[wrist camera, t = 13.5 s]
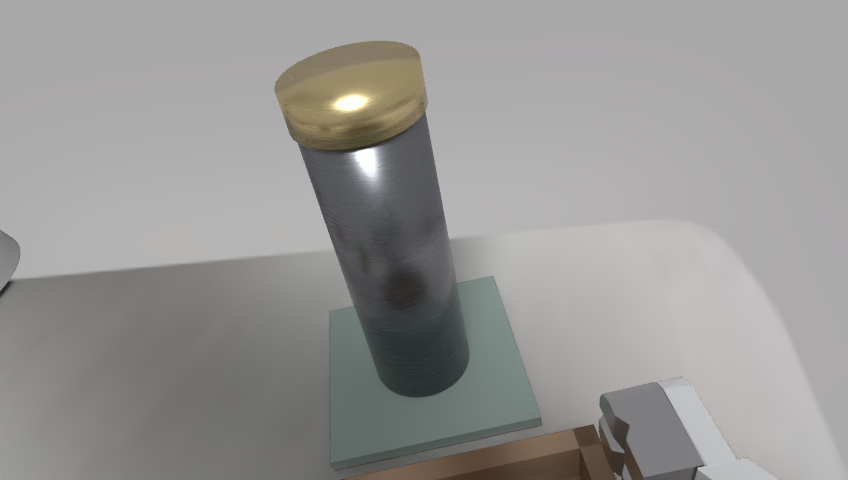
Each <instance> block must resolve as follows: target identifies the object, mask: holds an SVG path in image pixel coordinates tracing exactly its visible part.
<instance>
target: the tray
mask: <svg viewBox="0 0 848 480" xmlns="http://www.w3.org/2000/svg"><path fill="white" fill-rule="evenodd" d="M341 480H616V477H615V475H614V472H613V471H612V470H611V469H610V466H609V464H608V461H607V459H606V456H605V453H604V450H603V447H602V444H601V441H600V439H599V436H598V434H597V432H596V429H595V427H594V424H593V425H588V426H584V427H579V428H575V429H570V430H565V431H561V432H556V433H552V434H547V435H543V436H538V437H533V438H529V439H524V440H520V441H515V442H511V443H506V444H501V445H497V446H492V447H488V448H483V449H479V450H474V451H469V452H465V453H460V454H456V455H451V456H446V457H442V458H437V459H433V460H428V461H424V462H419V463H414V464H410V465H405V466H401V467H396V468H392V469H387V470H382V471H378V472H373V473H369V474H364V475H360V476H355V477H350V478H346V479H341Z"/></svg>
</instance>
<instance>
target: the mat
mask: <svg viewBox="0 0 848 480" xmlns="http://www.w3.org/2000/svg"><path fill="white" fill-rule="evenodd" d="M457 287H458V292H459V298H460V303H461V309H462V314H463V320H464V325H465V331H466V336H467V342H468V347H469V363H468V366H467V368H466V370H465V372H464V374H463V375H462V377H461V378H460V379H459V380H458V381H457V382H456V383H455V384H454V385H452V386H451V387H450V388H448V389H447V390H445V391H443V392H441V393H438V394H435V395H432V396H428V397H419V398H414V397H406V396H402V395H399V394H396V393H394V392H392V391H391V390H389V389H388V388H387V387H386V386H385V385H384V384H383V383H382V382H381V380H380V378H379V376H378V373H377V370H376V367H375V364H374V362H373V359H372V356H371V353H370V350H369V347H368V344H367V341H366V338H365V336H364V333H363V330H362V327H361V324H360V321H359V318H358V315H357V312H356V310H355V307H354V306H353V307H348V308H344V309H339V310H335V311H330V463H331V465H332V467H333V469H334V470H339V469H343V468H348V467H353V466H357V465H362V464H366V463H371V462H375V461H380V460H385V459H389V458H394V457H398V456H403V455H407V454H412V453H417V452H421V451H426V450H430V449H435V448H439V447H444V446H449V445H453V444H458V443H462V442H467V441H471V440H476V439H481V438H485V437H490V436H494V435H499V434H503V433H508V432H513V431H517V430H522V429H526V428H531V427H535V426H540V425H542V424H541V416H540V413H539V410H538V407H537V404H536V401H535V398H534V395H533V392H532V389H531V386H530V383H529V380H528V377H527V375H526V372H525V369H524V366H523V363H522V360H521V357H520V354H519V351H518V348H517V345H516V342H515V339H514V336H513V333H512V330H511V327H510V324H509V321H508V318H507V315H506V313H505V310H504V307H503V304H502V301H501V298H500V295H499V292H498V289H497V286H496V283H495V280H494V277H493V276H489V277H484V278H480V279H475V280H471V281H466V282H462V283H457Z"/></svg>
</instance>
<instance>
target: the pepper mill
mask: <svg viewBox="0 0 848 480" xmlns="http://www.w3.org/2000/svg"><path fill="white" fill-rule="evenodd" d="M275 93H276V96H277V99H278V102H279V105H280V107H281V110H282V113H283V116H284V119H285V121H286V124H287V127H288V130H289V133H290V136H291V137H292V138H293V140H295V141H296V142H297V143H298V145H299V148H300V151H301V153H302V157H303V159H304V162H305V165H306V168H307V171H308V174H309V176H310V179H311V183H312V185H313V188H314V191H315V194H316V197H317V200H318V203H319V206H320V208H321V211H322V214H323V217H324V220H325V223H326V225H327V228H328V232H329V234H330V237H331V240H332V243H333V246H334V249H335V252H336V255H337V258H338V260H339V263H340V266H341V269H342V272H343V275H344V278H345V281H346V284H347V286H348V289H349V292H350V295H351V298H352V301H353V304H354V307H355V310H356V312H357V315H358V318H359V321H360V324H361V327H362V330H363V333H364V336H365V338H366V341H367V344H368V347H369V350H370V353H371V356H372V359H373V362H374V364H375V367H376V370H377V373H378V376H379V378H380V380H381V382H382V383H383V384H384V385H385V386H386V387H387V388H388V389H389V390H391V391H392V392H394V393H396V394H399V395H402V396H406V397H414V398H419V397H428V396H432V395H435V394H438V393H441V392H443V391H445V390H447V389H448V388H450V387H451V386H452V385H454V384H455V383H456V382H457V381H458V380H459V379H460V378H461V377H462V375H463V374H464V372H465V370H466V368H467V366H468V363H469V347H468V342H467V336H466V331H465V325H464V320H463V314H462V309H461V303H460V298H459V292H458V287H457V282H456V276H455V271H454V265H453V260H452V254H451V249H450V243H449V238H448V233H447V227H446V222H445V217H444V211H443V205H442V200H441V195H440V189H439V184H438V178H437V173H436V167H435V162H434V156H433V151H432V146H431V140H430V134H429V129H428V124H427V118H426V113H425V110H426V108H427V104H428V100H427V94H426V88H425V82H424V77H423V71H422V65H421V60H420V55H419V54H418V52H417V50H415V49H414V48H413V47H411V46H409V45H406V44H403V43H399V42H391V41H369V42H360V43H353V44H348V45H344V46H339V47H335V48H332V49H328V50H325V51H322V52H320V53H317V54H315V55H312V56H310V57H308V58H306V59H304V60H302V61H300V62H298V63H296V64H295V65H293V66H292V67H290V68H289V69H287V70H286V71H285V72H284V73H283V74H282V75H281V76H280V77H279V78H278V80H277V82H276V84H275Z"/></svg>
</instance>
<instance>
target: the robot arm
mask: <svg viewBox="0 0 848 480" xmlns="http://www.w3.org/2000/svg"><path fill="white" fill-rule="evenodd" d="M19 259H20V247H19V245H18V243H17V242H16V241H15V240H14V239H13V238H12V237H10V236H8V235H7V234H5V233H4V232H2V231H1V230H0V291H1V290H2V288H3V287H4V286H5V285H6V283H7V282H8V281H9V279H10V278H11V276H12V275H13V273H14V271H15V269H16V267H17V265H18V262H19ZM600 408H601V410H602V412H603V416H602V417H601V418H600V419H599V434H600V439H601V444H602V447H603V450H604V453H605V456H606V459H607V461H608V464H609V466H610V469H611V470H612V471H614V472H615V473H616V474H618V475H619V476H620V477H622V480H780V479H779V478H777V477H775V476H774V475H772V474H771V473H769V472H768V471H766V470H765V469H763V468H762V467H760V466H758V465H757V464H755V463H754V462H752V461H751V460H749V459H748V458H746V457H745V458H739V459H737V457H736V456H735V454H734V452H733V451H732V449H731V448H730V446H729V444H728V443H727V441H726V439H725V438H724V436H723V434H722V433H721V431H720V430H719V428H718V426H717V425H716V423H715V421H714V420H713V418H712V417H711V415H710V413H709V412H708V410H707V408H706V407H705V405H704V404H703V402H702V400H701V399H700V397H699V395H698V394H697V392H696V391H695V389H694V387H693V386H692V384H691V382H690V381H688V380H687V379H686V378H685V377H677V378H673V379H668V380H664V381H659V382H655V383H654V382H652V383H648V384H644V385H640V386H636V387H631V388H627V389H623V390H619V391H614V392H610V393H606V394H602V396H601V397H600Z"/></svg>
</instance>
